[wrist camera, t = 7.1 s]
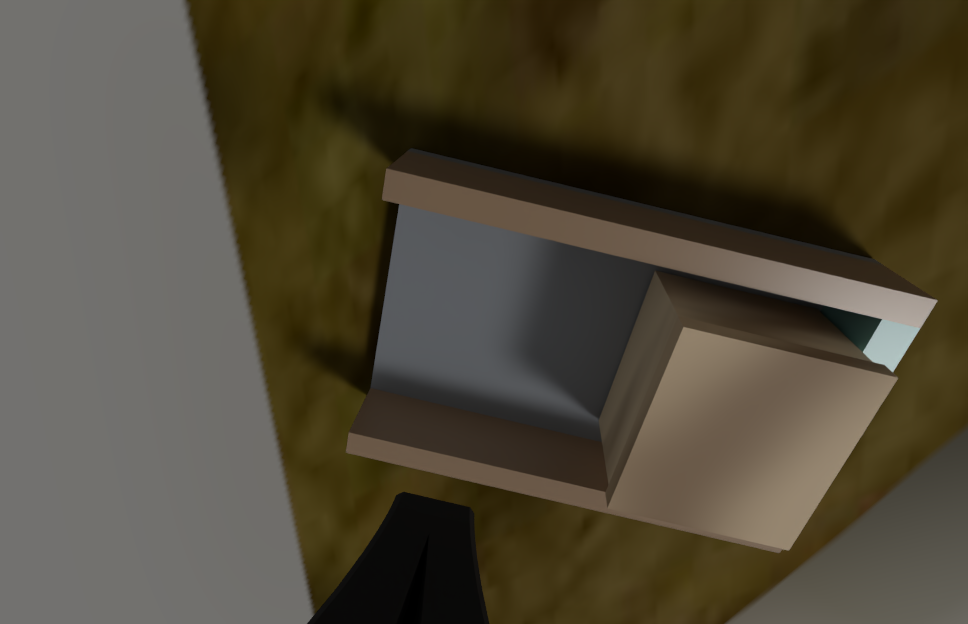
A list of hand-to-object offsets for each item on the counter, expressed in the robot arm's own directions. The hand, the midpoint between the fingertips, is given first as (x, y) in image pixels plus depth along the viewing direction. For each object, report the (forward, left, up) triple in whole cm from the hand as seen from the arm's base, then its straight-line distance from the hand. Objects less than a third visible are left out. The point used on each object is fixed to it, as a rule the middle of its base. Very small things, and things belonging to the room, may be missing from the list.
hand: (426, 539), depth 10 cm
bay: (-2, -4, -9) cm, 10 cm away
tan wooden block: (-4, -6, -9) cm, 11 cm away
